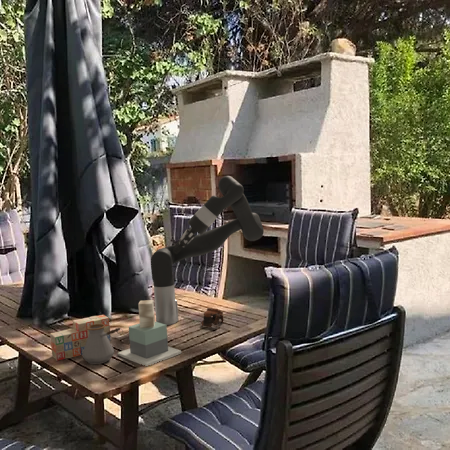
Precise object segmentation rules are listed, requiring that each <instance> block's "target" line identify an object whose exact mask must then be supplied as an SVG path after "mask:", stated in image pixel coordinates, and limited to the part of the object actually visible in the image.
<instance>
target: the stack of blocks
mask: <svg viewBox="0 0 450 450" xmlns="http://www.w3.org/2000/svg"><path fill="white" fill-rule="evenodd" d="M72 323H73V325H72V326H73V327H72V328H69V329H63V330H59V331H56V332H51V333H49V334H50V347H51V356H52V358H53V359H54V360H55V361H56V362H58V361H61V360H64V359H70V358H75V357H78V356H82V354H83V351H84V348H85V345H86V342H87V339H88V336H89V331H88V330H87V327H88V326H90V325H93V324H104V325H105V327H104V333H107V332H109V331H111V326H110V319H109V317H108V316H106V315H105V314H100V315H92V316H89V317H84V318H80V319H76V320H75V319H74V320H72ZM106 336H107V338H108V340H109V342H110V343H111V344H112V342H111V341H112V340H111V334H109V335H106Z"/></svg>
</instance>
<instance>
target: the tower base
mask: <svg viewBox="0 0 450 450" xmlns="http://www.w3.org/2000/svg"><path fill="white" fill-rule="evenodd" d="M167 327H168V325H166V324H162V323H159V322H156V321H155V325H154V327H151V328H140V322H139V323H136V324H132V325H129V326H128V338H129V340H128V341H129V348H127V349H124V350H122V351H119V352H117V356H119V357H121V358H123V359H126V360H129V361H131V362H134V363H136V364H139V365H141V364H142V365H141V366H144V365H145V366H144V367H146V366H147V367H149V366H148V365H150V366H152V365H155V364H157V362H158V363H160V362H163V361H165V360H168V359H170V358H173V357H175V356H177V355H178V356H179V355H180V354H182V350H180V349H178V348H174V347H172V346H169V341H168V329H167ZM162 360H163V361H162ZM159 361H160V362H159ZM154 363H155V364H154ZM151 364H152V365H151Z"/></svg>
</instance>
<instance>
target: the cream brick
mask: <svg viewBox="0 0 450 450" xmlns="http://www.w3.org/2000/svg"><path fill="white" fill-rule="evenodd" d="M138 315H139V316H138V317H139V323H140V328H151V327H154V325H155V322H156V314H155V300H154V299H147V300H139V302H138Z"/></svg>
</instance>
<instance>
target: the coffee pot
mask: <svg viewBox="0 0 450 450" xmlns="http://www.w3.org/2000/svg"><path fill="white" fill-rule="evenodd" d="M104 327H105V325H104V324H93V325H90V326H88V327H87V330H88V331H89V336H88V339H87V342H86V345H85V348H84V351H83V354H82V355H81V356H82V358H83V360H84V361H86V362H88V364H90V365H101V364H104V363H106V362H109V361H110V359H112V357H113V356H114V354H115V349H114V347H113V345H112V342H111V343H110V342H109V340H108V338H107V336H106V335H109V334H110V335H111V334H114V333H117V334H119V335H120V333H119V331H120V330H121V328H120V327H116V328H115V329H110V331H109V332H107V333H104ZM123 332H124V331H122V332H121V334H122V333H123Z"/></svg>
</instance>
